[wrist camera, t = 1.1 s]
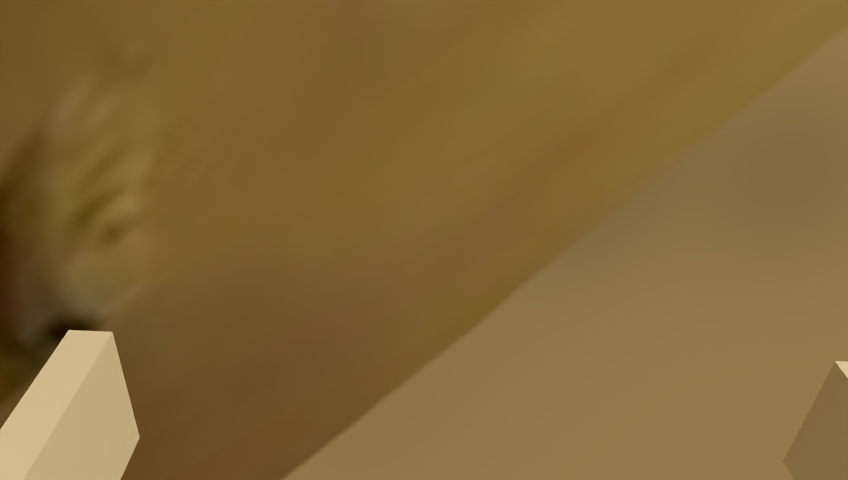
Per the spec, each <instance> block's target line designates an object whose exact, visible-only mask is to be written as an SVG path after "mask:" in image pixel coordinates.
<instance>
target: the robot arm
mask: <svg viewBox="0 0 848 480" xmlns="http://www.w3.org/2000/svg"><path fill="white" fill-rule="evenodd" d="M139 438H140V437H139V433H138V429H137V425H136V422H135V418H134V414H133V410H132V406H131V402H130V398H129V394H128V391H127V387H126V383H125V379H124V375H123V371H122V367H121V363H120V359H119V356H118V352H117V348H116V344H115V340H114V336H113V332H102V331H78V330H69V331H68V332H67V333H66V335H65V336H64V338H63V339H62V341H61V342H60V344H59V345H58V346H57V348H56V349H55V351H54V352H53V354H52V355H51V357H50V358H49V360H48V361H47V362H46V364H45V365H44V367H43V368H42V370H41V371H40V373H39V374H38V375H37V377H36V378H35V380H34V381H33V383H32V384H31V386H30V387H29V389H28V390H27V391H26V393H25V394H24V396H23V397H22V399H21V400H20V402H19V403H18V404H17V406H16V407H15V409H14V410H13V412H12V413H11V415H10V416H9V418H8V419H7V420H6V422H5V423H4V425H3V426H2V428H1V429H0V480H120V479H121V477H122V475H123V473H124V471H125V468H126V466H127V464H128V462H129V460H130V457H131V455H132V453H133V451H134V449H135V447H136V444H137V442H138V440H139ZM784 463H785V465H786V466H787V468H788V470H789V472H790V474H791V475H792V477H793V479H794V480H848V362H836V361H835V363H834V364H833V366H832V368H831V370H830V372H829V374H828V376H827V378H826V380H825V382H824V384H823V386H822V388H821V389H820V391H819V393H818V395H817V397H816V399H815V401H814V403H813V405H812V407H811V409H810V411H809V412H808V414H807V416H806V418H805V420H804V422H803V424H802V426H801V428H800V430H799V432H798V434H797V436H796V438H795V439H794V442H793V443H792V445H791V447H790V449H789V451H788V453H787V455H786V457H785V459H784Z"/></svg>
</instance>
